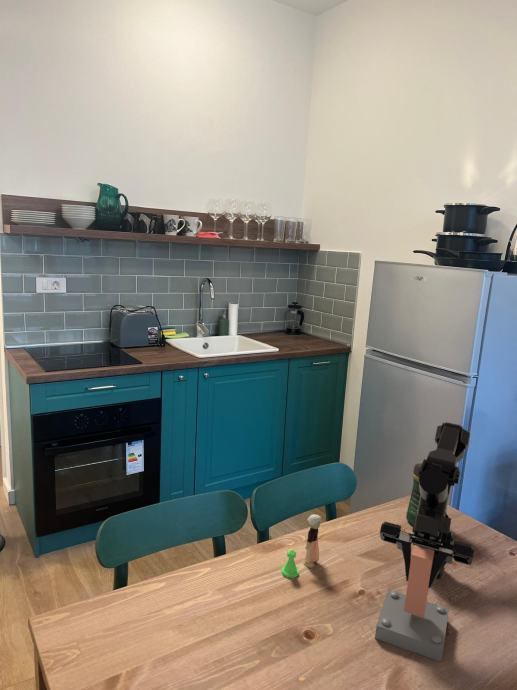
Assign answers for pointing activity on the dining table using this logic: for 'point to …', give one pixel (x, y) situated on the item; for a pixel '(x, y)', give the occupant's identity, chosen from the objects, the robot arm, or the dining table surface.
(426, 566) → the pillar brick
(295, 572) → the game piece
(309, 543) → the grandmother figurine
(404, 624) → the base brick
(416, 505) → the coffee jar
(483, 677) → the dining table surface
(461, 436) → the robot arm
